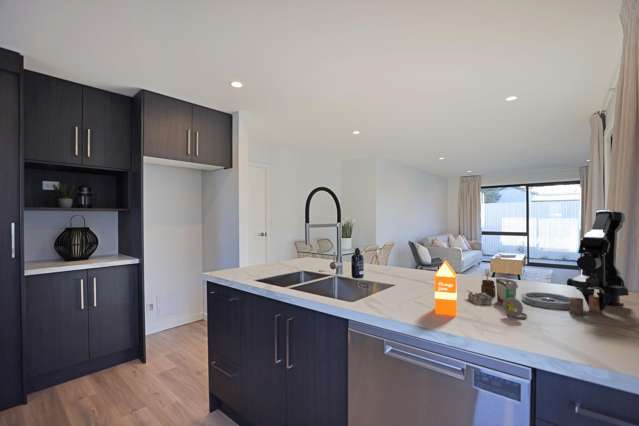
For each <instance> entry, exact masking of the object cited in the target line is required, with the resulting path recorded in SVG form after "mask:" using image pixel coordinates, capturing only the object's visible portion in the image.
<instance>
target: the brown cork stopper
mask: <svg viewBox="0 0 639 426" xmlns="http://www.w3.org/2000/svg"><path fill="white" fill-rule="evenodd" d="M588 312H590V313H594V314H604V310H600V306H599V296H598V295H597V294H594V295H589V307H588Z"/></svg>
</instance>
